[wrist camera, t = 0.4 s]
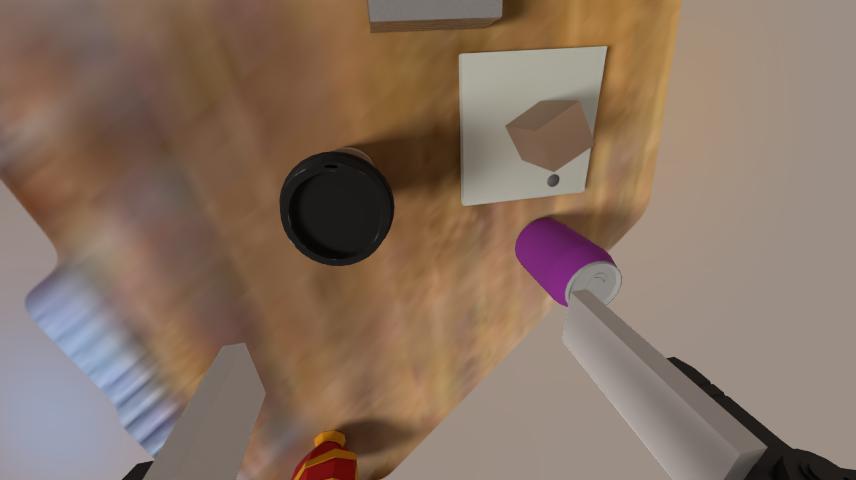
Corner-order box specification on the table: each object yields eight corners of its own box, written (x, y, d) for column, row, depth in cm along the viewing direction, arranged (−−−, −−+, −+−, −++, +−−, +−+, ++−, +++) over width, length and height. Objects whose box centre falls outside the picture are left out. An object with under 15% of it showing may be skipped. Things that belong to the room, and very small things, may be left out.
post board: (458, 55, 31) (485, 40, 24) (599, 47, 33) (664, 32, 26) (461, 203, 38) (483, 227, 31) (578, 189, 40) (624, 209, 33)
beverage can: (541, 273, 45) (594, 327, 34) (501, 253, 42) (546, 304, 31) (574, 230, 43) (642, 273, 32) (534, 206, 40) (594, 244, 29)
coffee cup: (386, 135, 33) (396, 157, 20) (387, 208, 37) (397, 270, 23) (305, 133, 32) (258, 156, 18) (314, 209, 35) (280, 276, 22)
